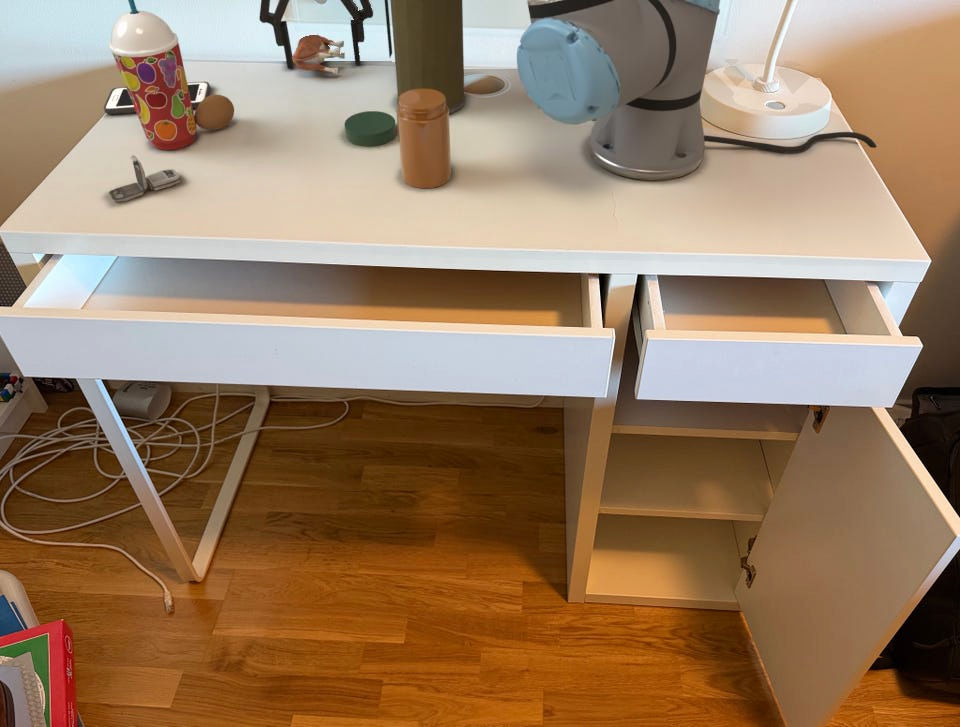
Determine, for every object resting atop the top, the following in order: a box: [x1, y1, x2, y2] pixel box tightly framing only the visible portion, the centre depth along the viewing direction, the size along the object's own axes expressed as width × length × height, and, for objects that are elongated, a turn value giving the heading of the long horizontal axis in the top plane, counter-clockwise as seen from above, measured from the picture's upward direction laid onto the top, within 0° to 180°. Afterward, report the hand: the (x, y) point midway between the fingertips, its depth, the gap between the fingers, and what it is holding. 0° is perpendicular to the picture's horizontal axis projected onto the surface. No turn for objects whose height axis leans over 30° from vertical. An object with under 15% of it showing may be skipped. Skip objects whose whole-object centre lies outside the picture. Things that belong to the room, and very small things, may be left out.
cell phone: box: [103, 81, 211, 115], centre depth 114 cm, size 8×15×1 cm, turn 100°
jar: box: [396, 88, 452, 189], centre depth 95 cm, size 6×6×10 cm
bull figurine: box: [292, 34, 346, 74], centre depth 122 cm, size 4×13×8 cm
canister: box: [384, 0, 467, 115], centre depth 107 cm, size 11×10×20 cm
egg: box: [194, 94, 235, 131], centre depth 107 cm, size 4×4×6 cm
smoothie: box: [108, 0, 198, 151], centre depth 98 cm, size 8×8×20 cm
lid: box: [343, 110, 397, 147], centre depth 106 cm, size 7×7×2 cm
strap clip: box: [108, 154, 181, 203], centre depth 95 cm, size 8×3×4 cm, turn 126°
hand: (324, 63), depth 124 cm, fingers open, 10 cm apart
